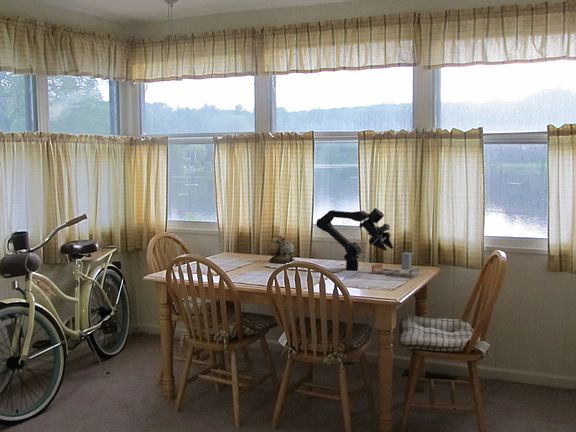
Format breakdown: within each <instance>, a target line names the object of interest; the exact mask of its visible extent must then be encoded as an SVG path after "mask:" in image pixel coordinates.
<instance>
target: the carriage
mask: <svg viewBox="0 0 576 432" xmlns="http://www.w3.org/2000/svg"><path fill="white" fill-rule="evenodd" d="M412 253H413V252H402V253H401V268H400V269H399V270H400V273H405V274H409V269H412V257H413V256H412V255H413V254H412Z"/></svg>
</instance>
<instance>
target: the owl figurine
mask: <svg viewBox="0 0 576 432" xmlns="http://www.w3.org/2000/svg"><path fill="white" fill-rule="evenodd" d="M267 252H268V253H269V254H270V255H273V256H271V257H270V258H269V260H268V262H269V263H271V264H276V265H278V264H280V265H287V264H286V263H289V262H292V261H295V262H296V260H295V259H294V257H296V256H295V254H294V252H295V246H294V245H293V243H292V242H291V240H287V239H286V237H285V235H283V234H281V235H279V236H278V238H277V237H273V238H272V239H271V244H270V249H267Z"/></svg>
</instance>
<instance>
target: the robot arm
mask: <svg viewBox="0 0 576 432" xmlns="http://www.w3.org/2000/svg"><path fill="white" fill-rule="evenodd" d="M384 217H385V215H384V213H383V212H382V211H381V210H379V209H378V208H373V210H372V211H371V212H370V213H367V212H366V211H365V210H361V211H360V210H359V211H357V210H356V211H344V210H342V211H341V210H335V209H332V210H328V212H327V213H325V214H324V215H323V216H322V217H320V218H317V220H316V221H315V223H316V227H317V228H318V229H319V230H322V231H323V232H326V233H327V234H329V235H330V236H331V237H332V238H333V239H334V240H335V241H336V242H337V243H339V245H340V246H342V247H343V248H344V250H345V252H346V253H345V254H344V255H343V258H344V260H345V270H346V271H358V270H359V261H358V259H359V257H360V256H361V254H362V248H361V246H360V245H358V244H357V242H355V241H354V242H350V241H349V240H348V239H347V238H346V237H345V236H343V234H341V233H340V232H339V231H338V230H337V229H336V228H335V227H334V226H333V223H332V221H333V220H334V218H339V219H348V220H349V219H350V220H352V221H355V222H360V223H359V226H358V227H359V229H362V228H364V230H365V231H366V232H367V235H369V236H370V237H371V238H370V239H369V240H368V244H370V245H372V246H374V247H376V248H379V249H380V250H383V251H385V252H386V251H388V249H387V247H388V248H390V249H391V250H392V249H394V245H393V243H392V241H391V236H392V235H391V233H390V232H389V230H391V229H390V225H389V224H388V223H384V224H382V226H379V225H378V226H377V225H376V224H378V223H379V222H380V221H381V220H382V219H383V218H384Z"/></svg>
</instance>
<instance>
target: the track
mask: <svg viewBox="0 0 576 432" xmlns="http://www.w3.org/2000/svg"><path fill="white" fill-rule="evenodd" d="M371 274H372V275H380V274H381V275H380V276H382V275H383V276H389V275H390V277H398V276H400V277H401V278H407V277H409V278H410V279H413V278H415V277H417V276H419V275H420V267H419V266H415V267H411V269H409V274H405V273H400V269H393V268H383V263H380V262H378V263H375V264H372V265H371ZM409 278H408V279H409Z"/></svg>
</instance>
